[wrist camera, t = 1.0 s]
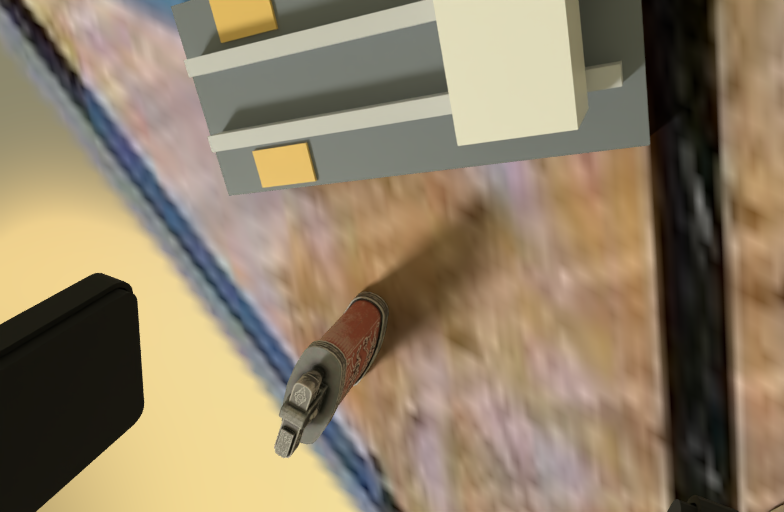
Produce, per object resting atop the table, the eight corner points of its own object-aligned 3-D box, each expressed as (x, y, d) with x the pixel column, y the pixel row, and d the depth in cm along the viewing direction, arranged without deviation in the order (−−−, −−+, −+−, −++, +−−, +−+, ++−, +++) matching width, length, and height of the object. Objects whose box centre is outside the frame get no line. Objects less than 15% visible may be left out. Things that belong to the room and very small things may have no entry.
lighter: (355, 283, 41) (279, 359, 33) (397, 305, 41) (332, 388, 32) (325, 366, 45) (251, 453, 37) (364, 387, 45) (298, 480, 36)
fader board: (633, -126, 27) (632, -141, 24) (649, 136, 31) (650, 152, 28) (192, 5, 38) (153, 7, 35) (246, 187, 42) (215, 202, 39)
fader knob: (576, -54, 27) (558, -65, 21) (591, 102, 29) (577, 129, 23) (470, -26, 29) (427, -30, 23) (491, 118, 31) (457, 145, 26)
